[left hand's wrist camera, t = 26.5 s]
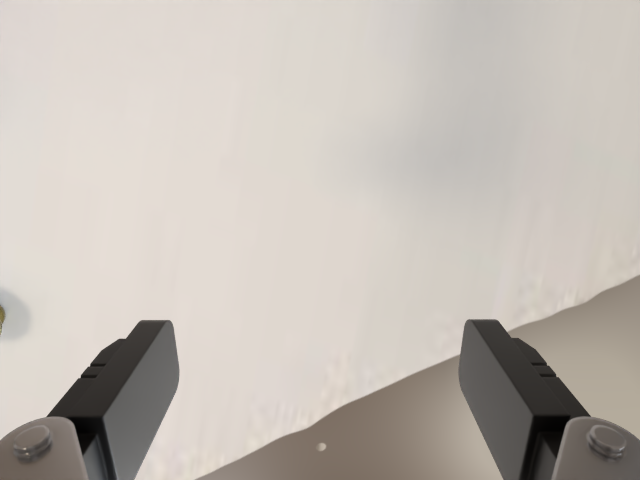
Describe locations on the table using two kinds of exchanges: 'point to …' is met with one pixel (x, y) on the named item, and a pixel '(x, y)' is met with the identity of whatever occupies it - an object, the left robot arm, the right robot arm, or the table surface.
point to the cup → (1, 318)
